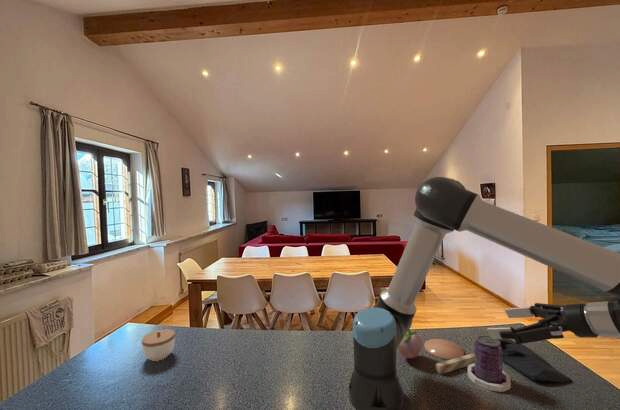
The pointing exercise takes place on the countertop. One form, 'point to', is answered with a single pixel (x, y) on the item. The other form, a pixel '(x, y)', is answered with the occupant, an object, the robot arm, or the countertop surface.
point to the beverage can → (488, 359)
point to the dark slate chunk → (529, 362)
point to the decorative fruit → (410, 344)
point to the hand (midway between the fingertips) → (498, 322)
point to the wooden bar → (455, 363)
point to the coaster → (443, 349)
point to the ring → (489, 386)
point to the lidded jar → (158, 344)
